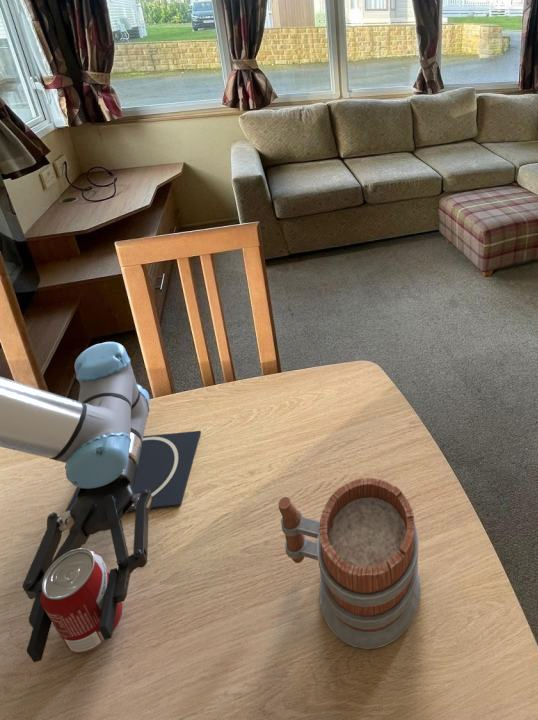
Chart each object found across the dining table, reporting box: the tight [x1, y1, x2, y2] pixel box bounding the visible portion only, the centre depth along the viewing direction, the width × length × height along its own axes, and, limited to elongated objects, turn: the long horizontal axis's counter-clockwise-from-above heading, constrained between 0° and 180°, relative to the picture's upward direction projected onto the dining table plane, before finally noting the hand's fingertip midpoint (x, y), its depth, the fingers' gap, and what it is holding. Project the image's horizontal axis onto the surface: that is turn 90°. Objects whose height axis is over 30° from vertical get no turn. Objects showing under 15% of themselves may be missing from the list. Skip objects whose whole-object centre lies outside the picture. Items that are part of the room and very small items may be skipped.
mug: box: [277, 477, 422, 650], centre depth 65 cm, size 14×19×15 cm
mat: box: [64, 430, 202, 513], centre depth 83 cm, size 18×14×1 cm
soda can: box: [41, 547, 123, 654], centre depth 61 cm, size 7×7×12 cm
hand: (70, 644), depth 57 cm, fingers closed on soda can, 7 cm apart
